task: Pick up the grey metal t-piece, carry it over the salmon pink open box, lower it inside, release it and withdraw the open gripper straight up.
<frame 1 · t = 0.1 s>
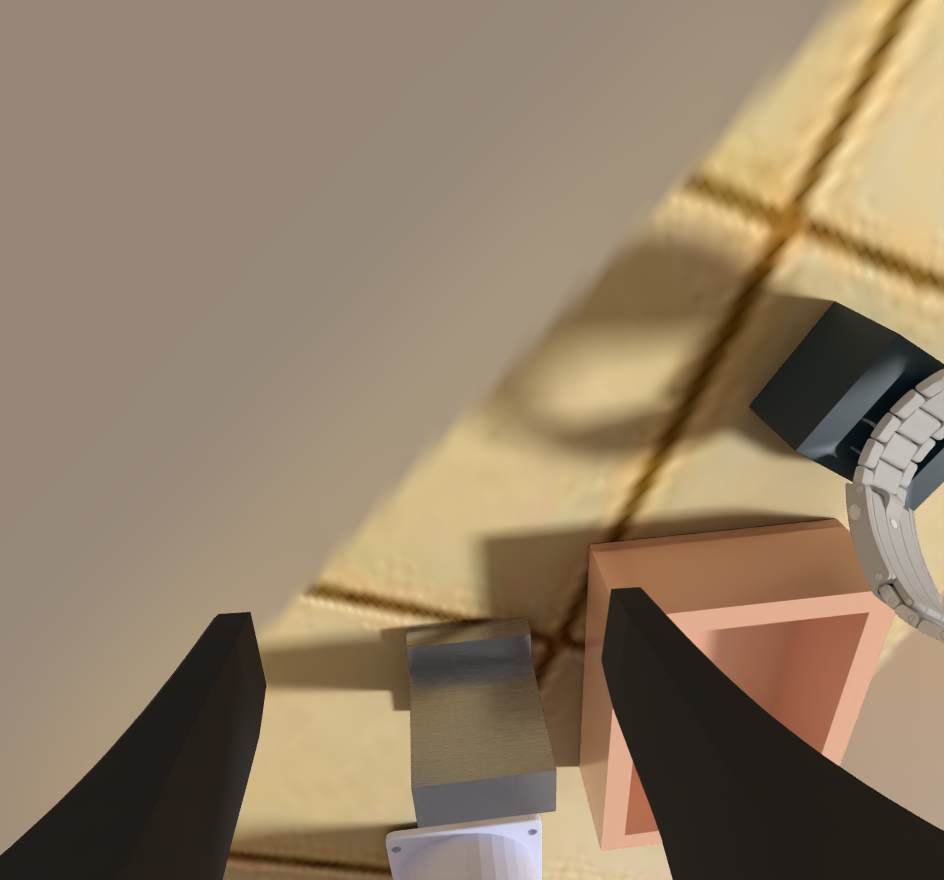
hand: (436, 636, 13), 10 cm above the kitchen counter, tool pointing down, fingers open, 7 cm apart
watch: (843, 384, 23), on the kitchen counter
grey metal t-piece: (470, 665, 28), on the kitchen counter
salmon pink open box: (694, 656, 29), on the kitchen counter
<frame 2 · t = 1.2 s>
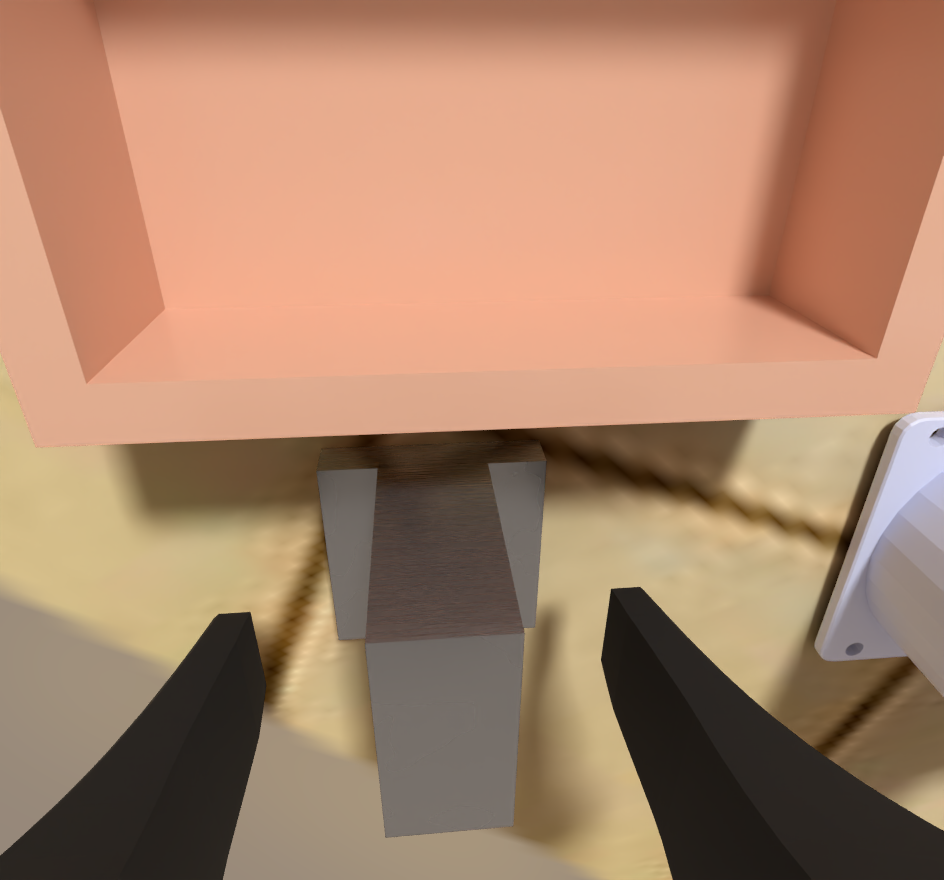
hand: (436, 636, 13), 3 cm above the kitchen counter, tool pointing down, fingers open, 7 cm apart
grey metal t-piece: (434, 530, 16), on the kitchen counter
salmon pink open box: (477, 69, 11), on the kitchen counter
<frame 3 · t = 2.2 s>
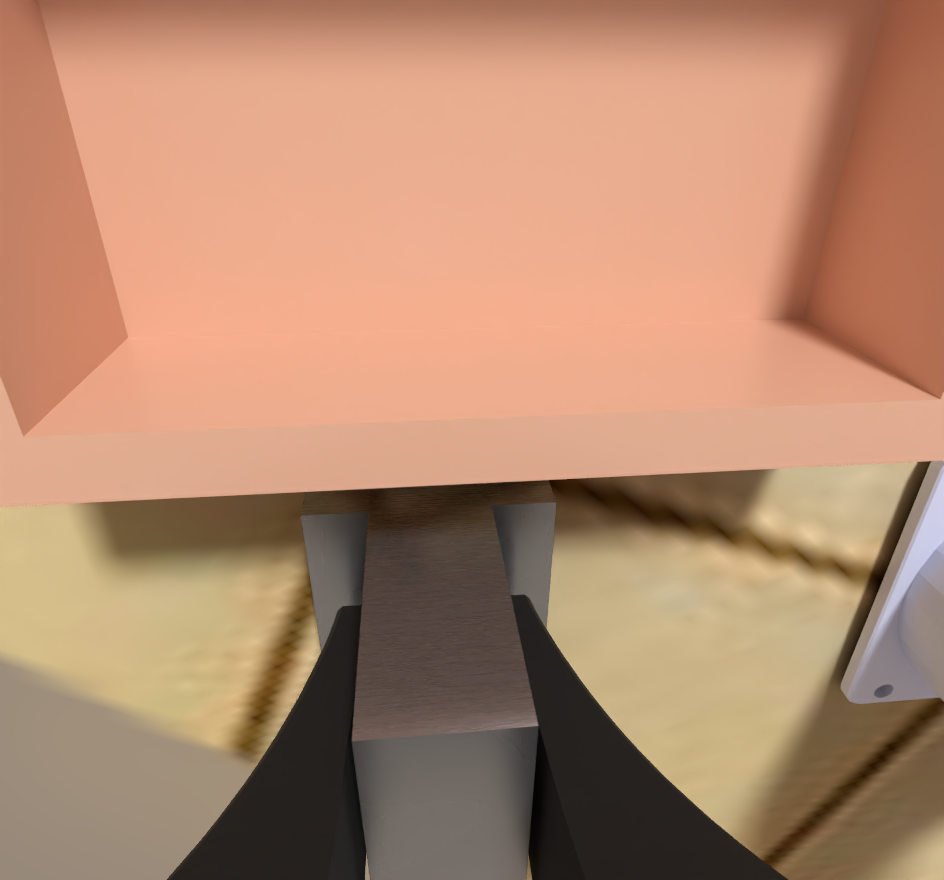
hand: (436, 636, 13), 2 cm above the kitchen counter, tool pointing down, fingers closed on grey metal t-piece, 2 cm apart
grey metal t-piece: (431, 573, 15), on the kitchen counter, touching gripper
salmon pink open box: (480, 67, 10), on the kitchen counter
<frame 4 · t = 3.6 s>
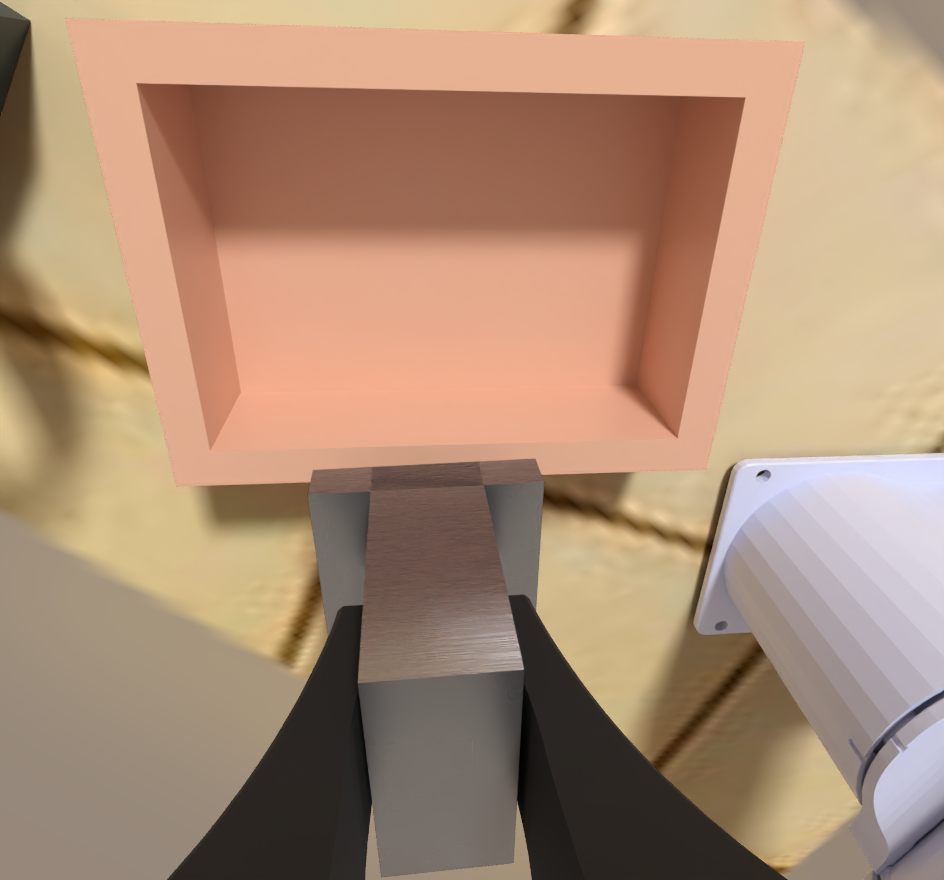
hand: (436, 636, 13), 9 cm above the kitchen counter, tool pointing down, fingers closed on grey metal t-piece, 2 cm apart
grey metal t-piece: (429, 552, 16), point 6 cm above the kitchen counter, touching gripper
salmon pink open box: (443, 250, 18), on the kitchen counter
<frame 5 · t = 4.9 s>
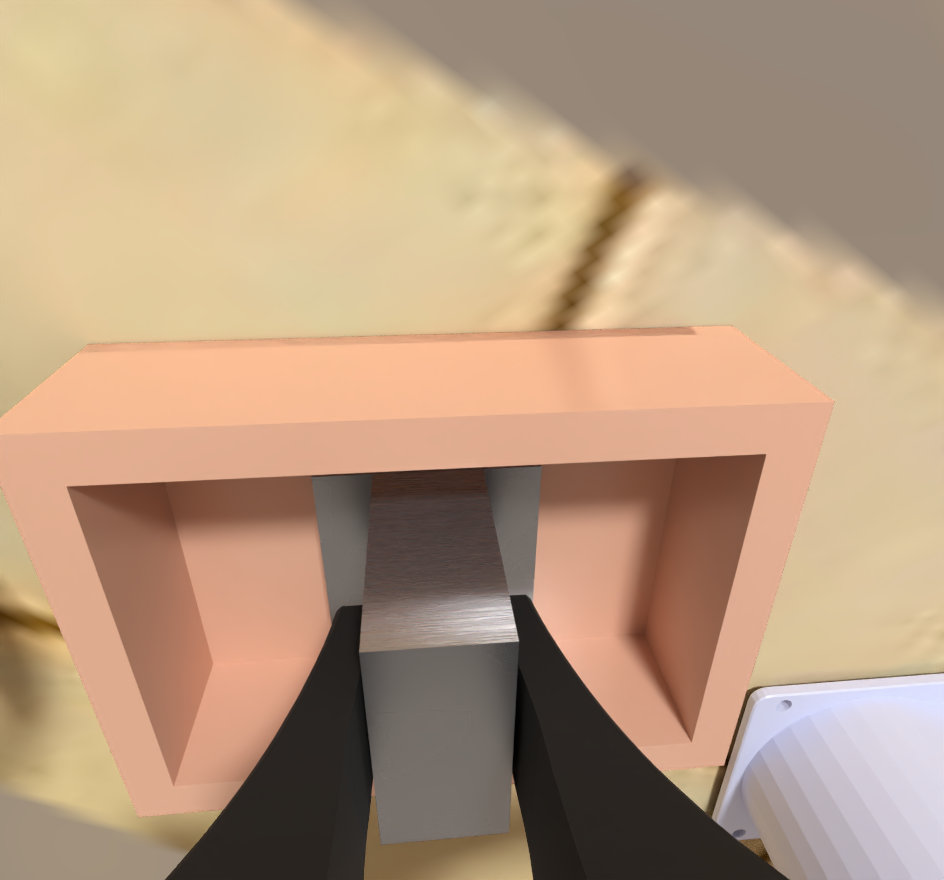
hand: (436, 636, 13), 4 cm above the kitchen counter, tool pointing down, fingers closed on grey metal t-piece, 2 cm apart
grey metal t-piece: (429, 535, 16), resting on salmon pink open box, touching gripper
salmon pink open box: (430, 521, 17), on the kitchen counter
when the fingers open (4 cm above the kitchen counter, at t = 5.1 s): grey metal t-piece stays where it is, resting on salmon pink open box.
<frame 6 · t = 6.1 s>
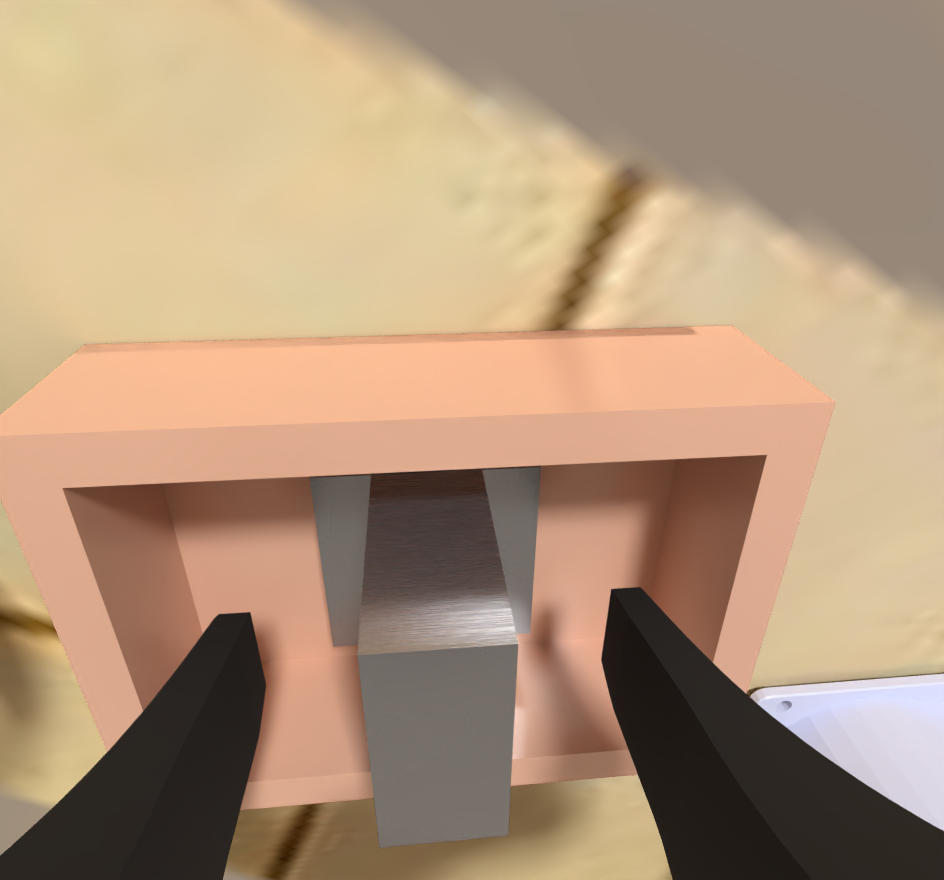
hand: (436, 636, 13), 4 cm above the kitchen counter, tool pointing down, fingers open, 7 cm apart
grey metal t-piece: (428, 536, 16), resting on salmon pink open box
salmon pink open box: (428, 521, 16), on the kitchen counter
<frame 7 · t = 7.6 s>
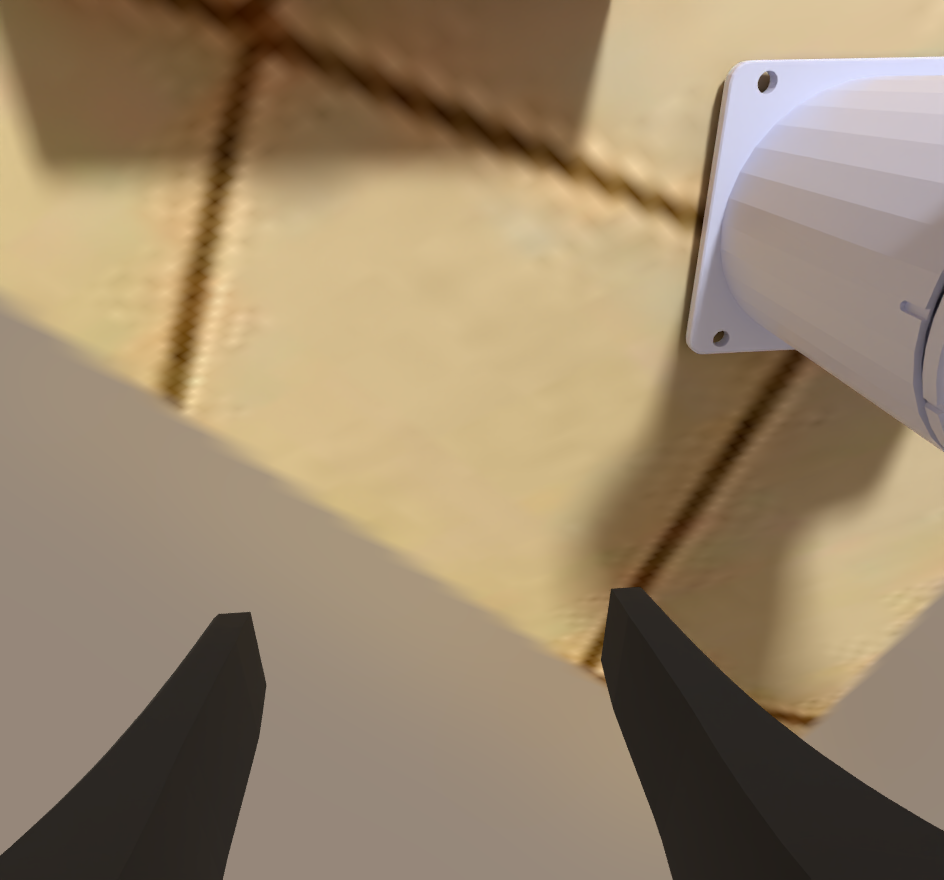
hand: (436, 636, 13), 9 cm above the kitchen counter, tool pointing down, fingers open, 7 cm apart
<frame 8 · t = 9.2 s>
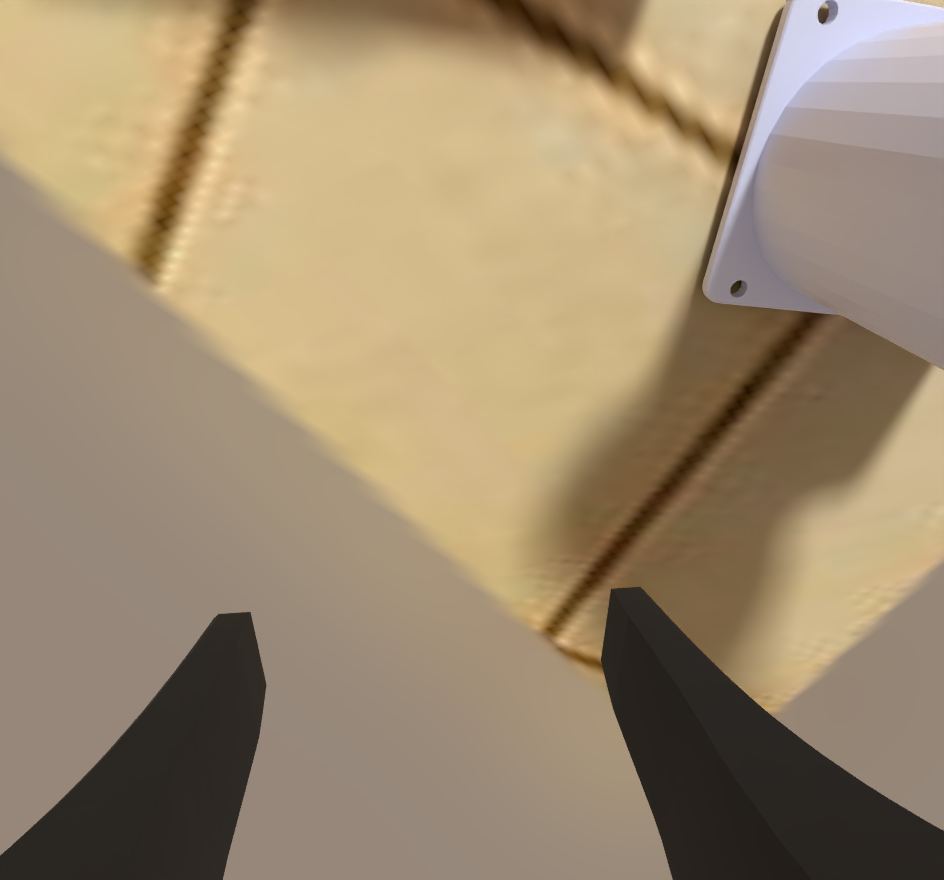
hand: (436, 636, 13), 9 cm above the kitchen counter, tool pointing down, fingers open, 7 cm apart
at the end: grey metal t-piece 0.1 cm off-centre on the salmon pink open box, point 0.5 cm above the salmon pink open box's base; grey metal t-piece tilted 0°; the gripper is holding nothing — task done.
